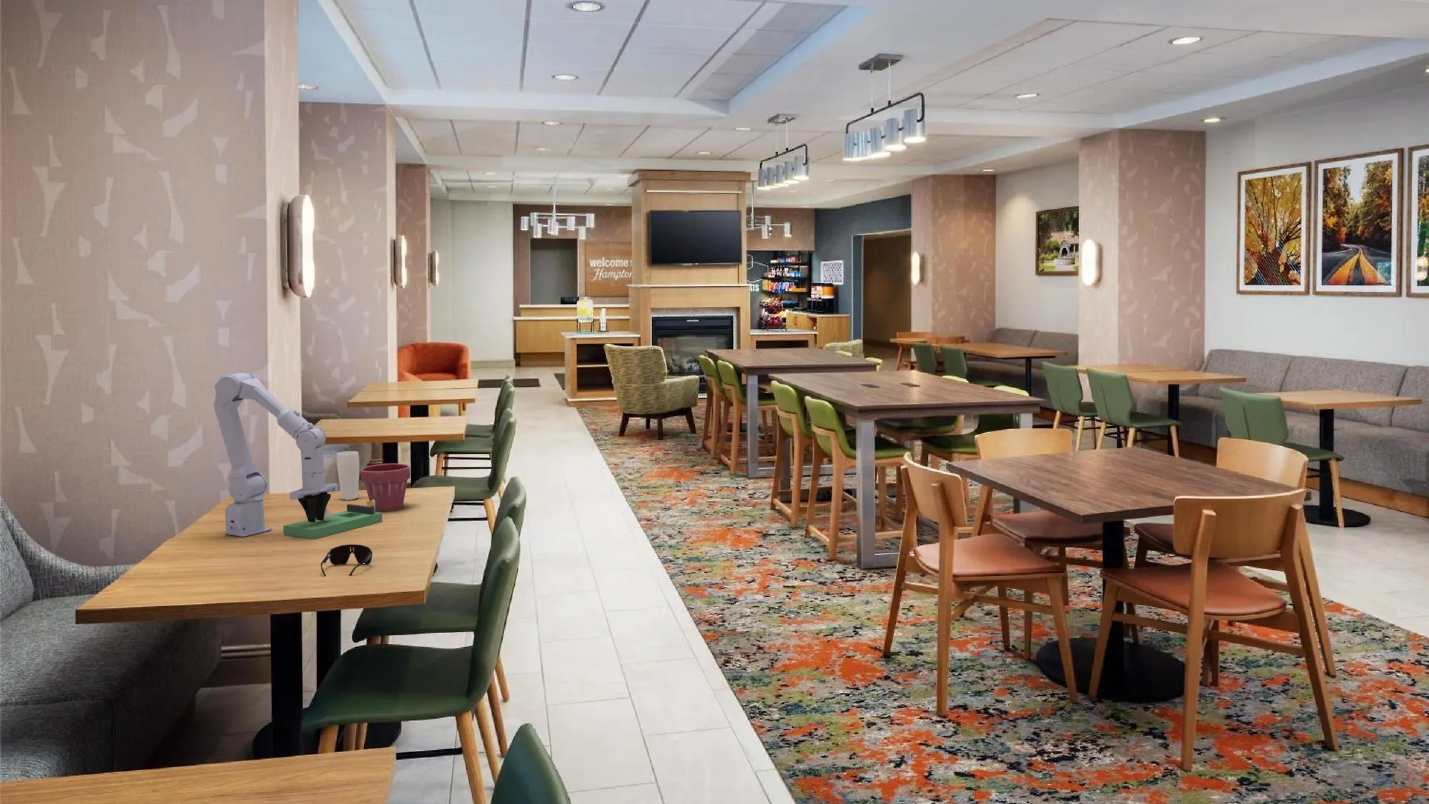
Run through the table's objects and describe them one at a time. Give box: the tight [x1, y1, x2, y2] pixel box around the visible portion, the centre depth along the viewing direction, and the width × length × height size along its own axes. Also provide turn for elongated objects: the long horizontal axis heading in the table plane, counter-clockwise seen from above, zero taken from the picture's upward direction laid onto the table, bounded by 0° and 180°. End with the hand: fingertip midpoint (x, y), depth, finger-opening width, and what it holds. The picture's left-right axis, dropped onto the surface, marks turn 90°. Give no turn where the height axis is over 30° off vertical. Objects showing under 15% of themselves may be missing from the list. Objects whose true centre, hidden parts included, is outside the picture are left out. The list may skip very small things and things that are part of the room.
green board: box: [282, 500, 383, 540], centre depth 290 cm, size 24×12×6 cm, turn 151°
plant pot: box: [360, 463, 411, 512], centre depth 315 cm, size 14×14×13 cm
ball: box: [322, 508, 333, 522], centre depth 287 cm, size 4×4×4 cm
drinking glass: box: [336, 450, 360, 500], centre depth 330 cm, size 7×7×15 cm
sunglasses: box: [320, 543, 373, 577], centre depth 246 cm, size 10×12×5 cm
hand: (316, 521), depth 284 cm, fingers open, 2 cm apart
